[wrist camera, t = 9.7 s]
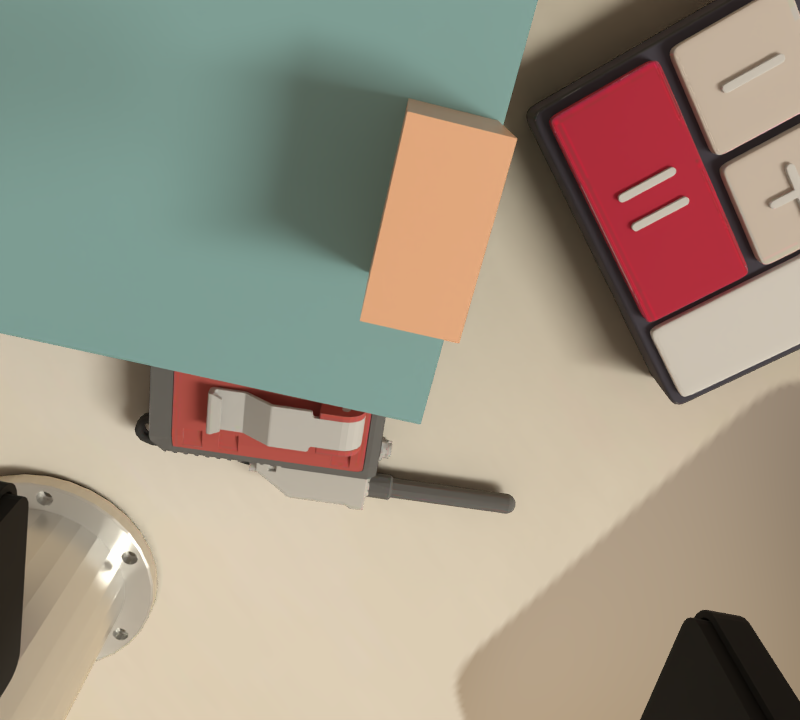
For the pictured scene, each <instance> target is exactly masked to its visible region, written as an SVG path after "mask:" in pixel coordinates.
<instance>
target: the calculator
mask: <svg viewBox="0 0 800 720" xmlns="http://www.w3.org/2000/svg"><path fill="white" fill-rule="evenodd" d="M527 121H528V124H529V126H530V128H531V130H532V132H533V134H534V136H535V138H536V140H537V142H538V144H539V146H540V148H541V150H542V152H543V154H544V156H545V159H546V161H547V163H548V165H549V167H550V169H551V171H552V173H553V175H554V177H555V179H556V181H557V183H558V185H559V187H560V189H561V191H562V193H563V195H564V197H565V199H566V201H567V203H568V205H569V207H570V209H571V211H572V213H573V215H574V217H575V219H576V221H577V223H578V225H579V227H580V229H581V231H582V233H583V235H584V237H585V239H586V241H587V244H588V246H589V248H590V250H591V252H592V254H593V256H594V258H595V260H596V262H597V264H598V266H599V268H600V270H601V272H602V274H603V276H604V278H605V280H606V282H607V284H608V286H609V288H610V290H611V292H612V294H613V296H614V298H615V300H616V302H617V304H618V306H619V308H620V311H621V313H622V316H623V318H624V320H625V322H626V324H627V326H628V328H629V330H630V332H631V334H632V336H633V338H634V340H635V342H636V345H637V347H638V349H639V351H640V353H641V355H642V357H643V359H644V361H645V363H646V365H647V367H648V369H649V371H650V373H651V375H652V376H653V378H654V379H655V380H656V382H657V383H658V384H659V386H660V387H661V388H662V390H663V391H664V392H665V394H666V395H667V396H668V398H669V399H670V400H671V401H672V402H673V403H674V404H683V403H686V402H688V401H690V400H692V399H694V398H697V397H699V396H701V395H703V394H705V393H707V392H709V391H711V390H714V389H716V388H718V387H720V386H722V385H724V384H726V383H729V382H731V381H733V380H735V379H737V378H739V377H741V376H743V375H746V374H748V373H750V372H752V371H754V370H756V369H758V368H760V367H763V366H765V365H767V364H769V363H771V362H773V361H775V360H778V359H780V358H782V357H784V356H786V355H788V354H790V353H792V352H795V351H797V350H799V349H800V0H715V1H713V2H712V3H710V4H708V5H707V6H705V7H703V8H701V9H700V10H698V11H696V12H694V13H693V14H691V15H689V16H688V17H686V18H684V19H682V20H681V21H679V22H677V23H675V24H674V25H672V26H670V27H669V28H667V29H665V30H663V31H662V32H660V33H658V34H656V35H655V36H653V37H651V38H650V39H648V40H646V41H644V42H643V43H641V44H639V45H637V46H636V47H634V48H632V49H630V50H629V51H627V52H625V53H624V54H622V55H620V56H618V57H617V58H615V59H613V60H611V61H610V62H608V63H606V64H605V65H603V66H601V67H599V68H598V69H596V70H594V71H592V72H591V73H589V74H587V75H586V76H584V77H582V78H580V79H579V80H577V81H575V82H573V83H572V84H570V85H568V86H567V87H565V88H563V89H561V90H560V91H558V92H556V93H554V94H553V95H551V96H549V97H548V98H546V99H544V100H542V101H541V102H539V103H537V104H536V105H534V106H532V107H531V108H530V109H529V110H528V112H527Z"/></svg>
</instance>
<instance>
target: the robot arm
mask: <svg viewBox="0 0 800 720" xmlns="http://www.w3.org/2000/svg"><path fill="white" fill-rule="evenodd" d="M157 586H158V580H157V571H156V565H155V562H154V559H153V556H152V553H151V550H150V548H149V546H148V544H147V542H146V541H145V539H144V537H143V536H142V534H141V532H140V531H139V530H138V529H137V527H136V526H135V525H134V524H133V523H132V521H131V520H130V519H129V518H128V517H127V516H126V515H125V514H124V513H123V512H121V511H120V510H119V509H118V508H117V507H115V506H114V505H113V504H112V503H111V502H109V501H108V500H106V499H104V498H103V497H101V496H99V495H98V494H96V493H94V492H93V491H91V490H89V489H86V488H84V487H81V486H79V485H77V484H74V483H72V482H69V481H65V480H61V479H57V478H53V477H49V476H40V475H29V474H21V475H9V476H1V477H0V720H65V719H66V717H67V715H68V713H69V711H70V709H71V707H72V705H73V703H74V701H75V700H76V698H77V696H78V694H79V692H80V690H81V688H82V686H83V684H84V682H85V680H86V678H87V676H88V674H89V672H90V670H91V668H92V666H93V664H94V663H95V661H98V660H101V659H103V658H105V657H108V656H110V655H112V654H115V653H116V652H118V651H119V650H121V649H122V648H124V647H125V646H127V645H128V644H129V643H130V642H131V641H132V640H133V639H134V638H135V637H136V636H137V635H138V634H139V633H140V632H141V630H142V628H143V626H144V624H145V623H146V621H147V619H148V617H149V615H150V612H151V610H152V607H153V605H154V603H155V600H156V593H157ZM640 720H800V701H799V700H798V698H797V697H796V695H795V694H794V692H793V691H792V689H791V687H790V686H789V684H788V683H787V681H786V680H785V678H784V677H783V675H782V673H781V672H780V670H779V669H778V667H777V665H776V664H775V663H774V661H773V659H772V658H771V656H770V655H769V653H768V651H767V650H766V648H765V647H764V645H763V644H762V642H761V641H760V639H759V638H758V636H757V635H756V633H755V631H754V630H753V628H752V627H751V625H750V623H749V622H748V621H747V620H746V619H745V618H743V617H741V616H737V615H731V614H726V613H720V612H715V611H709V610H702V611H700V612H699V613H697V614H696V616H695V617H694V618H687V619H686V620H685V621H684V623H683V624H682V626H681V629H680V631H679V633H678V636H677V638H676V640H675V642H674V644H673V647H672V649H671V651H670V654H669V656H668V658H667V660H666V663H665V665H664V667H663V669H662V672H661V674H660V676H659V679H658V681H657V683H656V685H655V688H654V690H653V692H652V694H651V697H650V699H649V701H648V703H647V706H646V708H645V710H644V713H643V715H642V717H641V719H640Z"/></svg>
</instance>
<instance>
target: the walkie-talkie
mask: <svg viewBox="0 0 800 720" xmlns="http://www.w3.org/2000/svg"><path fill="white" fill-rule="evenodd" d="M385 418H386V417H384V416H379V415H375V414H370V413H366V412H361V411H356V410H352V409H347V408H343V407H338V406H333V405H329V404H324V403H320V402H315V401H310V400H306V399H301V398H297V397H292V396H287V395H283V394H278V393H274V392H269V391H265V390H260V389H255V388H251V387H246V386H242V385H237V384H232V383H228V382H223V381H219V380H214V379H209V378H205V377H200V376H196V375H191V374H186V373H182V372H177V371H173V370H168V369H163V368H159V367H154V366H151V372H150V410H149V413H145V414H144V415H142V416H141V417H140V419H139V420H138V421H137V424H136V427H135V432H136V435H137V436H138V437H139V439H140V440H142V441H144V442H146V443H149V444H151V445H155V446H158V447H160V448H161V449H162V450H164V451H166V450H167V451H173V452H174V453H177V452H182V453H184V454H188V453H189V454H194V455H195V456H198V455H203V456H206V457H216V458H217V459H220V458H224V459H227V460H230V461H231V460H238V462H241V463H244V464H248V465H250V467H249V471H254V472H258V473H259V474H261V475H262V476H263V477H264V478H265V479H267V480H268V481H269V482H270V483H271V484H273V485H274V486H275V487H276V488H277V489H279V490H280V491H281V492H282V493H283V494H285V495H286V496H287V497H290V498H297V499H304V500H311V501H318V502H325V503H332V504H339V505H345V506H347V507H348V508H350V509H357V510H363V505H364V499H365V497H373V498H380V499H386V500H388V499H389V498H390V497H392V498H399V499H406V500H413V501H420V502H427V503H434V504H441V505H449V506H456V507H463V508H470V509H477V510H484V511H491V512H498V513H506V514H507V513H510V512H512V511H513V510H514V508H515V500H514V498H513V497H512V496H511V495H509V494H504V493H496V492H489V491H482V490H475V489H468V488H461V487H453V486H446V485H439V484H432V483H425V482H418V481H411V480H403V479H396V478H393V477H392V476H391V475H387V474H380V473H376V472H377V467H378V461H380V460H381V459H382V458H387V459H388V458H389V457H390V455H391V449H392V441H388V440H385V437H382V436H383V430H384V424H385ZM146 423H149V431H148V430H147V429H146V427H145V424H146Z"/></svg>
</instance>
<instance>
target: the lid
mask: <svg viewBox="0 0 800 720" xmlns="http://www.w3.org/2000/svg"><path fill="white" fill-rule="evenodd" d="M537 1H538V0H0V333H3V334H7V335H12V336H16V337H21V338H25V339H30V340H35V341H39V342H44V343H48V344H53V345H58V346H62V347H67V348H71V349H76V350H81V351H85V352H90V353H94V354H99V355H104V356H108V357H113V358H117V359H122V360H127V361H131V362H136V363H140V364H145V365H150V366H154V367H159V368H163V369H168V370H173V371H177V372H182V373H186V374H191V375H196V376H200V377H205V378H209V379H214V380H219V381H223V382H228V383H232V384H237V385H242V386H246V387H251V388H255V389H260V390H265V391H269V392H274V393H278V394H283V395H287V396H292V397H297V398H301V399H306V400H310V401H315V402H320V403H324V404H329V405H333V406H338V407H343V408H347V409H352V410H356V411H361V412H366V413H370V414H375V415H379V416H384V417H389V418H393V419H398V420H402V421H407V422H412V423H416V424H421V421H422V417H423V414H424V410H425V406H426V403H427V399H428V395H429V392H430V388H431V385H432V381H433V377H434V374H435V370H436V367H437V363H438V359H439V356H440V352H441V348H442V345H443V341H444V340H446V341H451V342H455V343H459V342H460V338H461V335H462V331H463V328H464V324H465V321H466V317H467V314H468V310H469V307H470V303H471V300H472V296H473V293H474V289H475V286H476V282H477V279H478V275H479V272H480V268H481V265H482V261H483V258H484V254H485V251H486V247H487V244H488V240H489V237H490V233H491V230H492V226H493V223H494V219H495V216H496V212H497V209H498V205H499V202H500V198H501V195H502V191H503V188H504V184H505V181H506V177H507V174H508V170H509V167H510V163H511V160H512V156H513V153H514V149H515V146H516V142H517V138H516V137H515V136H514V135H513V134H512V133H511V132H510V131H509V130H508V129H507V128H506V127H505V126H504V125H503V124H504V121H505V117H506V113H507V110H508V106H509V103H510V99H511V95H512V92H513V88H514V85H515V81H516V77H517V74H518V70H519V66H520V63H521V59H522V56H523V52H524V48H525V45H526V41H527V38H528V34H529V30H530V27H531V23H532V19H533V16H534V12H535V9H536V5H537Z"/></svg>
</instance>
